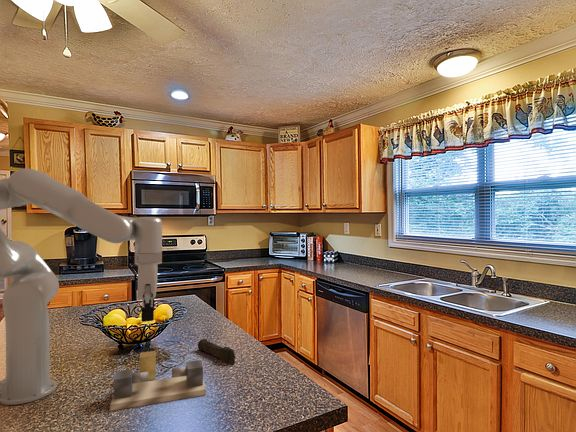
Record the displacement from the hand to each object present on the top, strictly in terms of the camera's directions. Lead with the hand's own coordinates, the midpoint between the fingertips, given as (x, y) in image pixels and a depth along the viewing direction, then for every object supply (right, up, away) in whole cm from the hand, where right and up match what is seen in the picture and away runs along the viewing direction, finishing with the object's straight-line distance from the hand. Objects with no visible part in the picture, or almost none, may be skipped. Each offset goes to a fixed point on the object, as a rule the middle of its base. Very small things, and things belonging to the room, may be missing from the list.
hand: (148, 316), depth 104 cm
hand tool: (+18, -19, +16) cm, 30 cm away
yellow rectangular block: (0, -18, 0) cm, 18 cm away
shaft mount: (+7, -18, -9) cm, 21 cm away
